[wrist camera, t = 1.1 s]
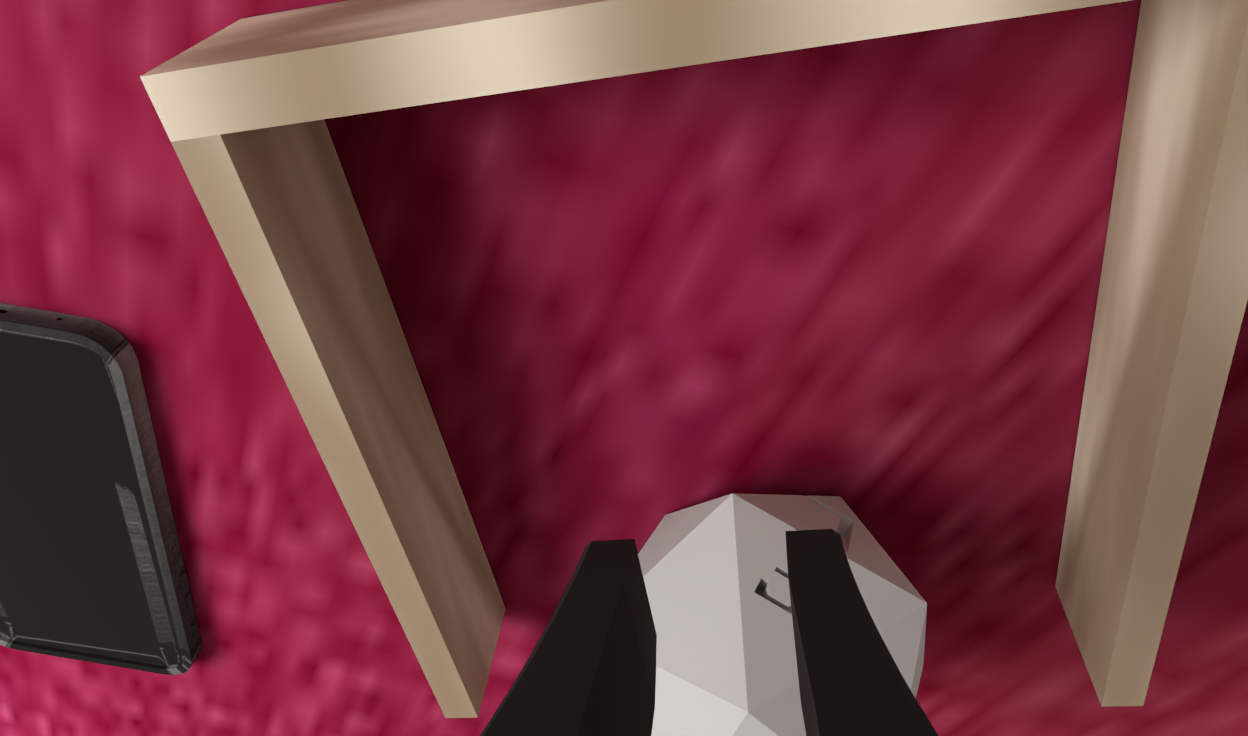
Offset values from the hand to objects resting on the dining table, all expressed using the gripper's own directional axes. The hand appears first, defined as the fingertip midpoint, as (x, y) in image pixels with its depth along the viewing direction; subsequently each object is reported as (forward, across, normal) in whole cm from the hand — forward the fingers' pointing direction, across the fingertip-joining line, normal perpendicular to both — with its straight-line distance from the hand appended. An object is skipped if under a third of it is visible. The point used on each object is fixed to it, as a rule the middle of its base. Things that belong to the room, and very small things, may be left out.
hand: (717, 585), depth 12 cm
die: (+11, 0, +10) cm, 15 cm away
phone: (+11, +22, +6) cm, 25 cm away
